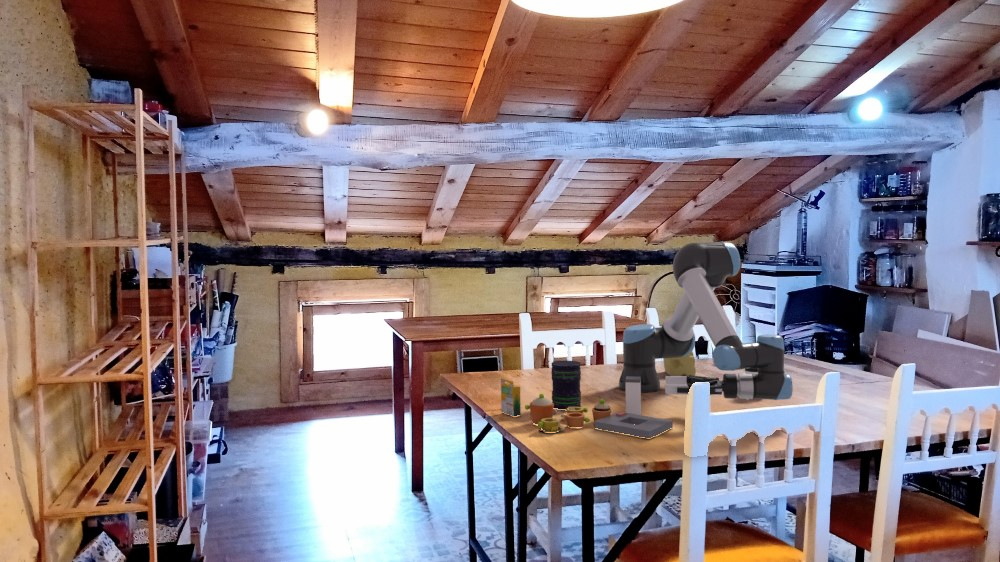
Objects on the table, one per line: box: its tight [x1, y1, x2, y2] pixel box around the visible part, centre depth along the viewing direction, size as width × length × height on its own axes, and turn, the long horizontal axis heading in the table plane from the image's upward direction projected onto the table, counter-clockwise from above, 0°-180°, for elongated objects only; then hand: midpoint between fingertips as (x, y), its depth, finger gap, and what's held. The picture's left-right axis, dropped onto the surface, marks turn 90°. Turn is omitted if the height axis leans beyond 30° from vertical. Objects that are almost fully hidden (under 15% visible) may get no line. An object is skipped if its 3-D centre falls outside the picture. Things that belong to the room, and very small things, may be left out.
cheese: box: [663, 350, 697, 377], centre depth 281 cm, size 10×11×10 cm
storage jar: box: [550, 360, 582, 409], centre depth 229 cm, size 10×10×15 cm
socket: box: [593, 411, 674, 438], centre depth 202 cm, size 18×14×3 cm
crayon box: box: [500, 377, 521, 416], centre depth 221 cm, size 7×3×12 cm, turn 32°
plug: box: [625, 376, 642, 415], centre depth 217 cm, size 4×4×12 cm
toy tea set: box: [524, 393, 612, 432], centre depth 209 cm, size 26×16×10 cm, turn 115°
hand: (665, 384), depth 214 cm, fingers open, 13 cm apart
